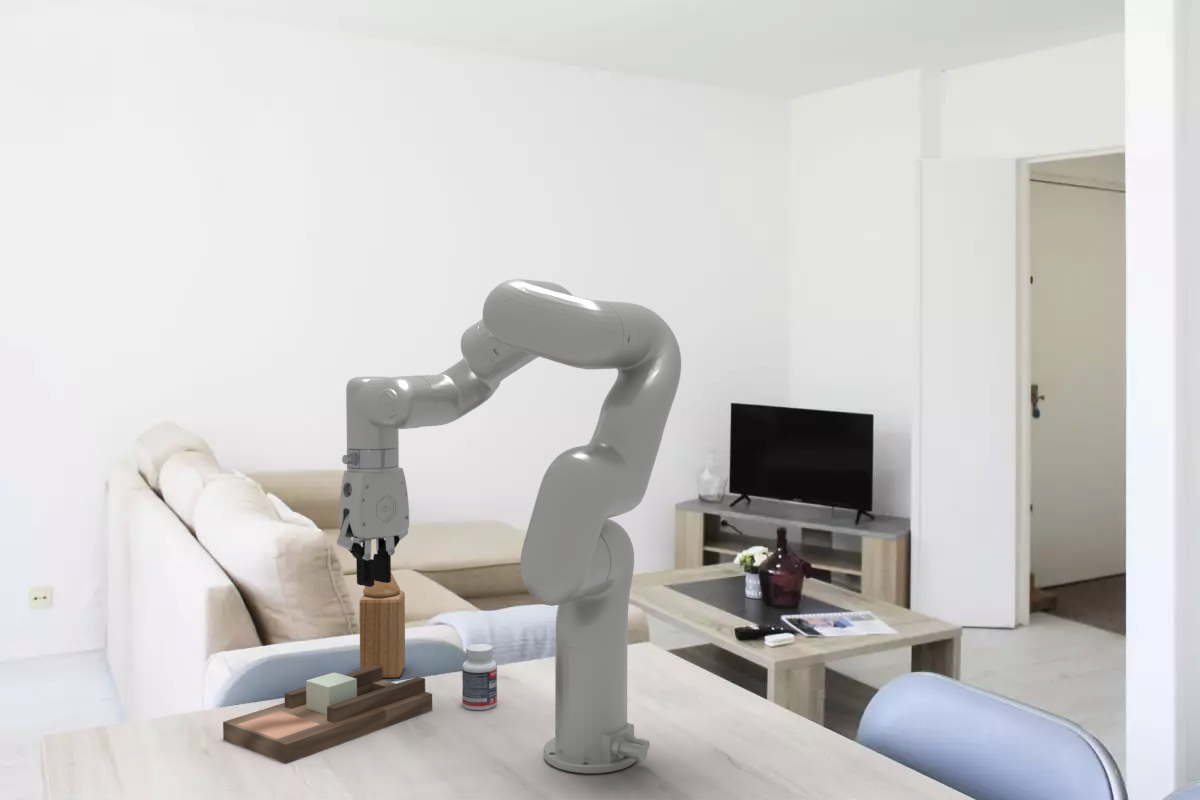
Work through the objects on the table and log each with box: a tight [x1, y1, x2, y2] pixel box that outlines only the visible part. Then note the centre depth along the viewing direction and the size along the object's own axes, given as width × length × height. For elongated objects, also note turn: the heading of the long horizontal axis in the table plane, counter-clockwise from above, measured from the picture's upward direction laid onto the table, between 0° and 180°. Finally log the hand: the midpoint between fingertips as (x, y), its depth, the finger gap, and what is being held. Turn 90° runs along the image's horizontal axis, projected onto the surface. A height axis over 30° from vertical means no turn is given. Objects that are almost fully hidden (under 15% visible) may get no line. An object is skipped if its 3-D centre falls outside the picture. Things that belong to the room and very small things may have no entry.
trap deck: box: [222, 666, 433, 764], centre depth 154 cm, size 14×26×4 cm, turn 143°
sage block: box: [305, 671, 357, 715], centre depth 154 cm, size 5×5×4 cm
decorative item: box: [359, 572, 406, 679], centre depth 178 cm, size 7×7×20 cm
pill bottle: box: [461, 643, 498, 711], centre depth 162 cm, size 5×5×9 cm
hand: (373, 582), depth 160 cm, fingers open, 2 cm apart
